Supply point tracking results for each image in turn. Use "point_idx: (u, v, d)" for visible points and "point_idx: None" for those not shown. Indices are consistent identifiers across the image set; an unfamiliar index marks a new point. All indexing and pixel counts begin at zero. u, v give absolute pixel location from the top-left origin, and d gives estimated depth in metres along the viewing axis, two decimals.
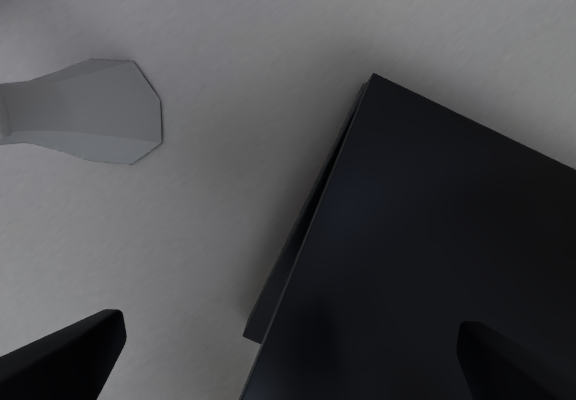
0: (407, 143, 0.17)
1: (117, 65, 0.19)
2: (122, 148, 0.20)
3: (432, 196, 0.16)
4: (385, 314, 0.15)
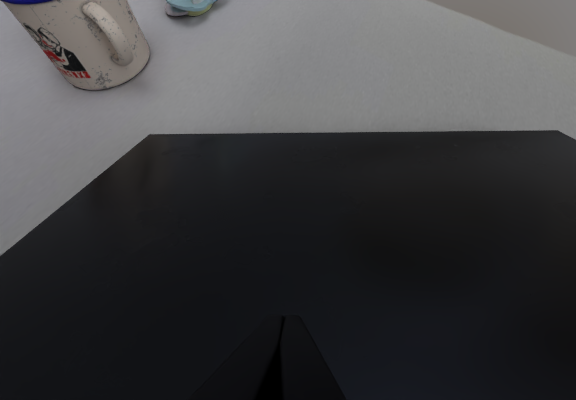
0: (174, 151, 0.21)
1: None
2: None
3: (195, 166, 0.19)
4: (133, 234, 0.13)
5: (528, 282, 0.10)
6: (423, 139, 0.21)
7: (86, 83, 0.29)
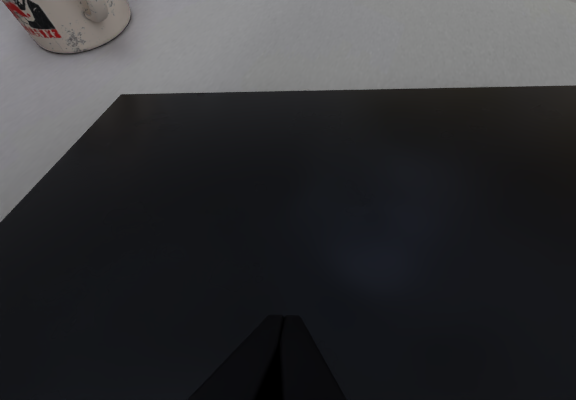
0: (149, 119, 0.18)
1: None
2: None
3: (175, 142, 0.16)
4: (102, 246, 0.11)
5: (570, 318, 0.09)
6: (444, 100, 0.18)
7: (57, 45, 0.26)
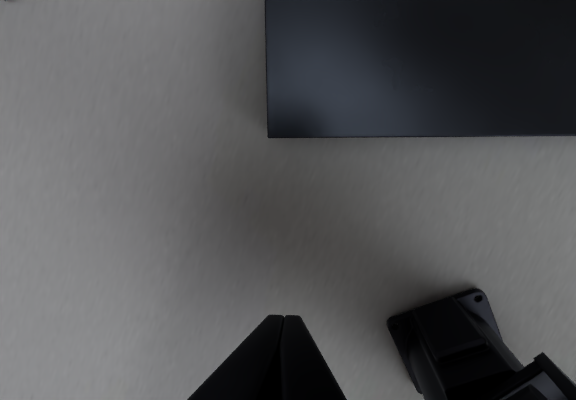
0: None
1: None
2: None
3: None
4: None
5: None
6: None
7: None
